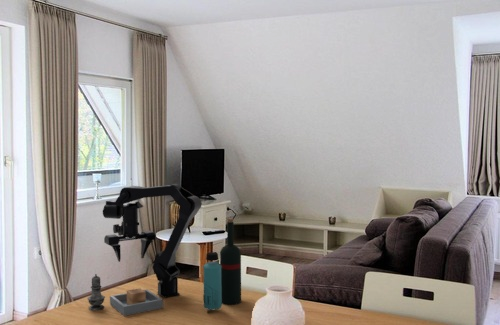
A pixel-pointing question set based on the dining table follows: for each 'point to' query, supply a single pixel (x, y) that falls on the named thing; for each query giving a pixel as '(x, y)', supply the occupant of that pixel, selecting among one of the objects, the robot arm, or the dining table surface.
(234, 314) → the dining table surface
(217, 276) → the beverage bottle
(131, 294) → the light brown block
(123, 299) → the low wall corral
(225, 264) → the wine bottle
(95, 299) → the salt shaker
